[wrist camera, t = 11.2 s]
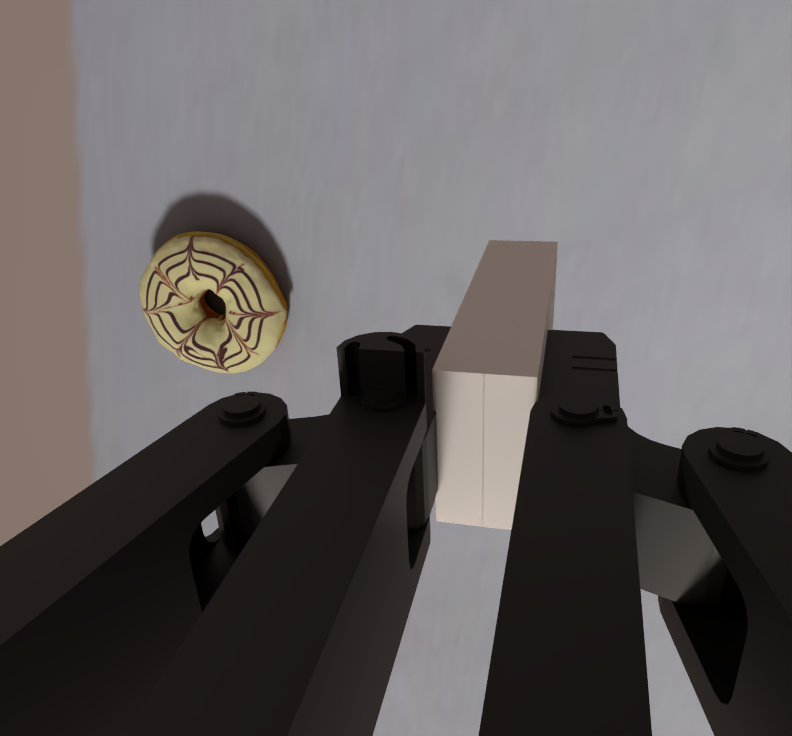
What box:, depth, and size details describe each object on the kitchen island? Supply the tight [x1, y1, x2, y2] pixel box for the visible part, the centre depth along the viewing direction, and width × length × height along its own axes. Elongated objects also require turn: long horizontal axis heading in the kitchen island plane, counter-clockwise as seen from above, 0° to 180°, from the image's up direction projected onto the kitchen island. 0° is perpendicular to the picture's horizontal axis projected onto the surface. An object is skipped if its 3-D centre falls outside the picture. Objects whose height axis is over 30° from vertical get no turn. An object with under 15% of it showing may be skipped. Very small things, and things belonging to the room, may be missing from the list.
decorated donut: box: [139, 231, 288, 373], centre depth 51 cm, size 10×11×4 cm
